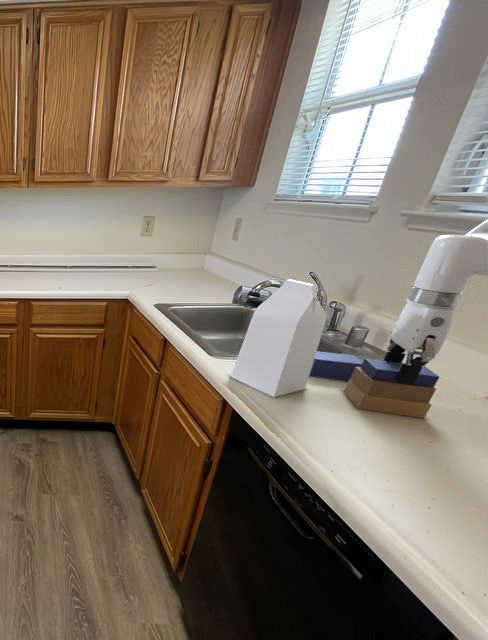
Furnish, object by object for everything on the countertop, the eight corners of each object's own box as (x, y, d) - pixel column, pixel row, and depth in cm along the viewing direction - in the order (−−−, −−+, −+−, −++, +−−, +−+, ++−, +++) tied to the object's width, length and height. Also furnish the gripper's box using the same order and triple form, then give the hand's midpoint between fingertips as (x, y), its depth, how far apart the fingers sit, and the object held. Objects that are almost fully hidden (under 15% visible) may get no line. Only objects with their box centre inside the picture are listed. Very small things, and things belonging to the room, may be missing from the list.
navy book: (418, 375, 96) (423, 365, 94) (434, 387, 90) (439, 376, 89) (360, 367, 99) (364, 358, 98) (371, 379, 94) (376, 369, 92)
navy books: (349, 372, 113) (356, 355, 111) (359, 383, 107) (367, 365, 105) (300, 365, 117) (306, 349, 115) (308, 376, 111) (314, 358, 109)
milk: (230, 376, 110) (259, 278, 99) (260, 369, 114) (291, 275, 103) (273, 397, 100) (311, 290, 89) (305, 388, 104) (344, 286, 93)
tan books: (403, 399, 100) (417, 373, 97) (424, 418, 92) (439, 390, 89) (343, 390, 103) (354, 365, 100) (357, 408, 96) (370, 381, 93)
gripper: (484, 311, 78) (439, 394, 86) (433, 289, 93) (398, 362, 100) (433, 306, 80) (393, 388, 88) (391, 286, 95) (360, 358, 103)
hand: (396, 374), depth 94 cm, fingers closed on navy book, 6 cm apart
